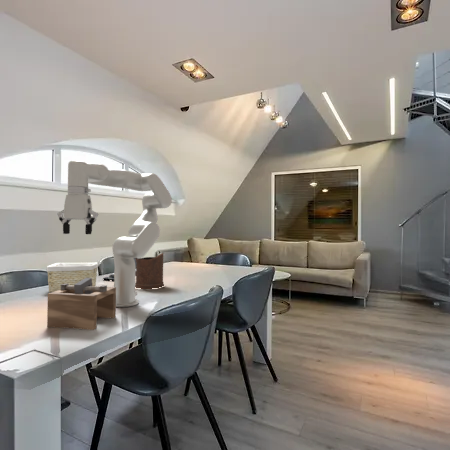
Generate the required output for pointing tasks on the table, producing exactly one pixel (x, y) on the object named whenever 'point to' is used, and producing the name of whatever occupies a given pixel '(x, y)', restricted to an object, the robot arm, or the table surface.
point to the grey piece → (83, 286)
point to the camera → (110, 277)
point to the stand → (80, 307)
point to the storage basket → (70, 274)
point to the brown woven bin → (149, 272)
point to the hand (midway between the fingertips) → (77, 233)
